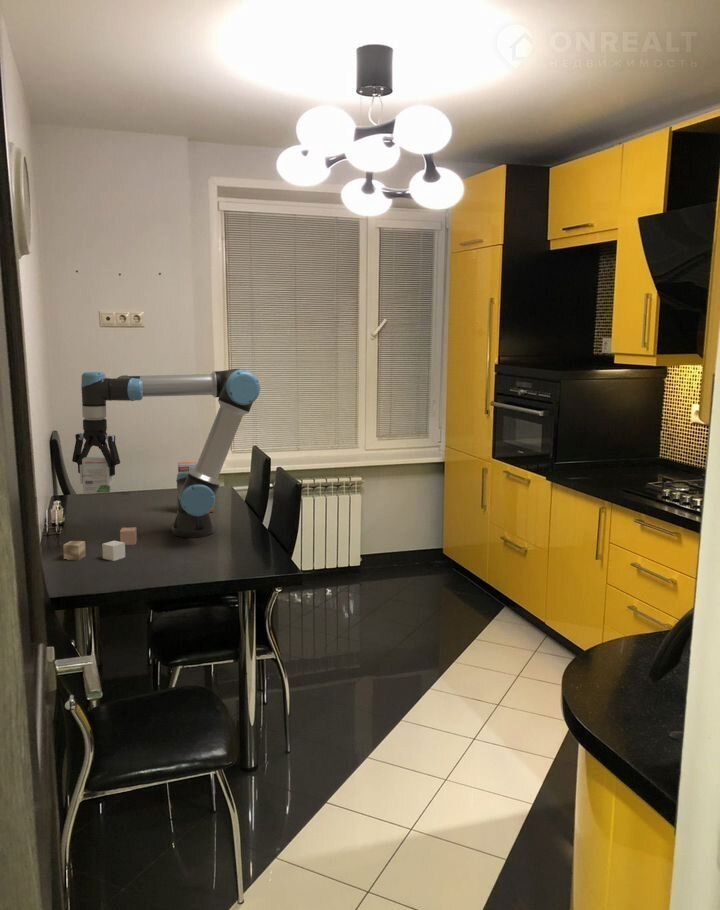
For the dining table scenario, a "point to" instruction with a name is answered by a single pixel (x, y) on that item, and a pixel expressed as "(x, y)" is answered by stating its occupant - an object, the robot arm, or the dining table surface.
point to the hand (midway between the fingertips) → (96, 483)
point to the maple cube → (74, 550)
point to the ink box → (94, 475)
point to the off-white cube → (113, 550)
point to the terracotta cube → (128, 536)
